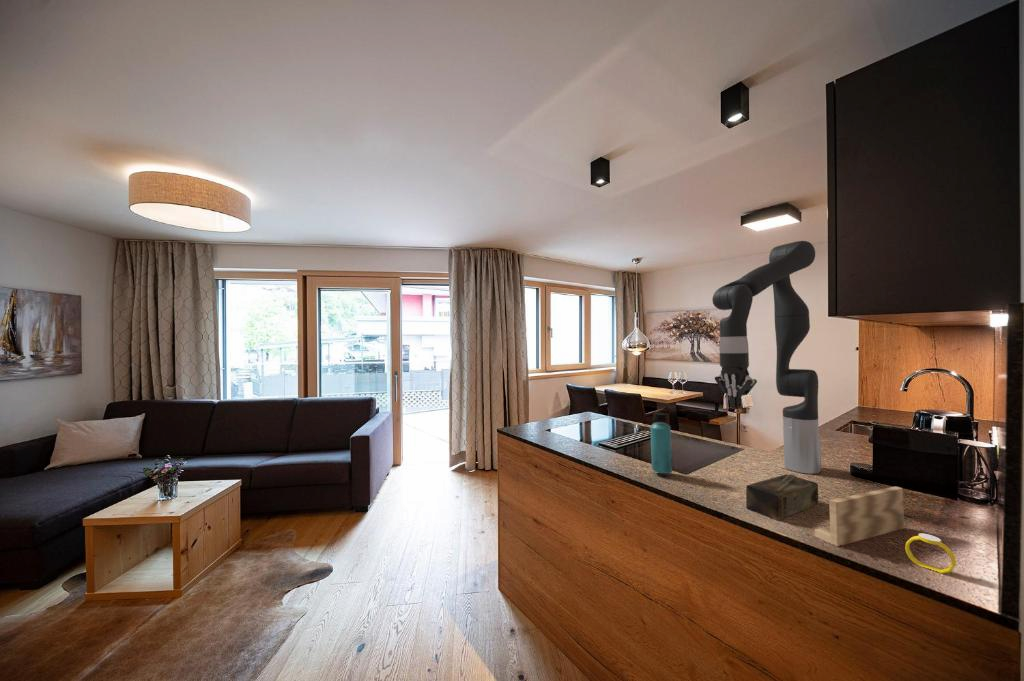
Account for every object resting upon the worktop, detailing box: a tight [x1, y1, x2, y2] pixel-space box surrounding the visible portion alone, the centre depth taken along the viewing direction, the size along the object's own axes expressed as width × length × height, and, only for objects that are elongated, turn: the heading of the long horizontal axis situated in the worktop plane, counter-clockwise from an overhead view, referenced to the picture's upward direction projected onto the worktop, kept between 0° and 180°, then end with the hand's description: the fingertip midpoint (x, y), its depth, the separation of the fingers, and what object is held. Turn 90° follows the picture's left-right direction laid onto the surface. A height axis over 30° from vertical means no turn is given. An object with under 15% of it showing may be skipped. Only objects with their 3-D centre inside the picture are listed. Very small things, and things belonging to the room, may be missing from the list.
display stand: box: [814, 486, 905, 547], centre depth 79 cm, size 22×4×9 cm, turn 107°
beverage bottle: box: [649, 412, 674, 474], centre depth 117 cm, size 6×7×20 cm
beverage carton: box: [745, 473, 819, 521], centre depth 92 cm, size 8×19×7 cm, turn 116°
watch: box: [904, 532, 957, 575], centre depth 66 cm, size 6×3×6 cm, turn 34°
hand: (735, 408), depth 108 cm, fingers closed
